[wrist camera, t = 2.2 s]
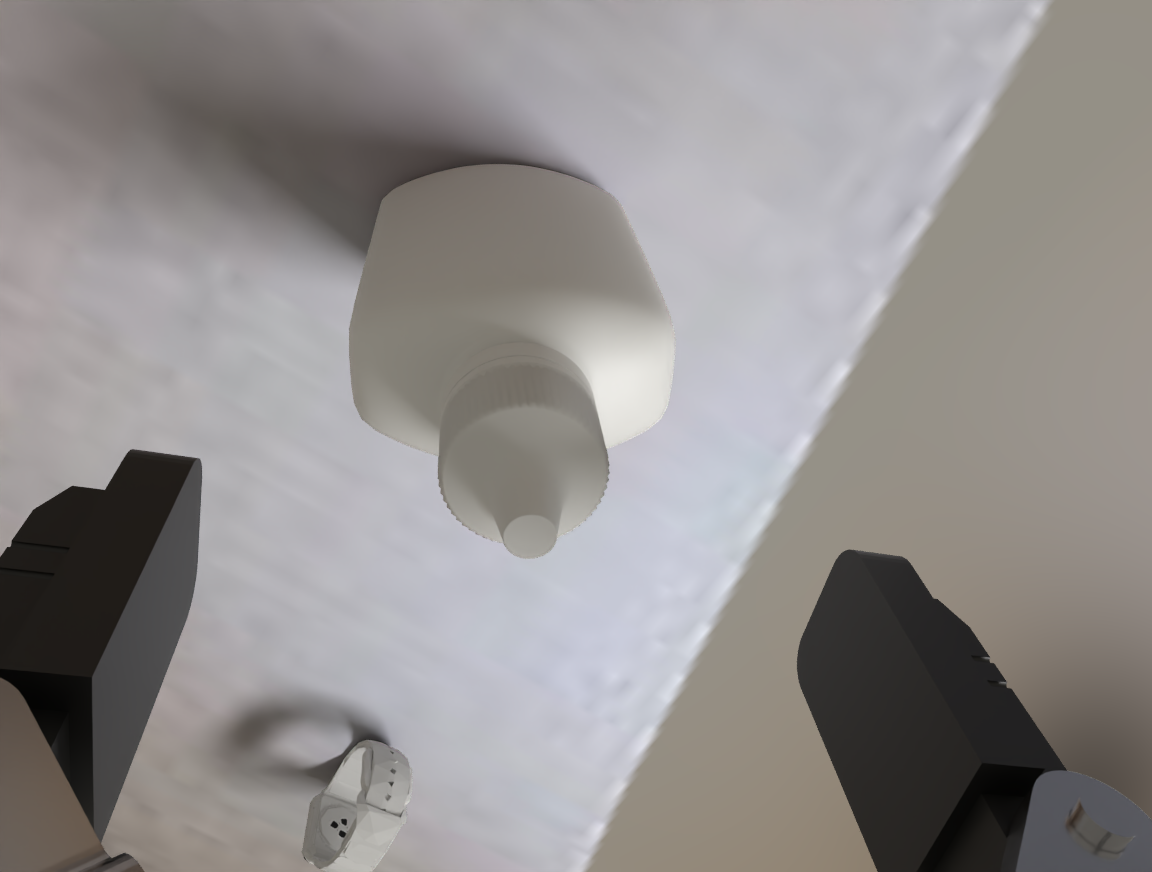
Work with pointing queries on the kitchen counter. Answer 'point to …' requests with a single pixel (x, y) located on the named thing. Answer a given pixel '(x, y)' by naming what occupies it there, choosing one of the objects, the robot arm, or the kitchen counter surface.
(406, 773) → the smartwatch
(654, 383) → the eye dropper bottle
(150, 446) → the kitchen counter surface
